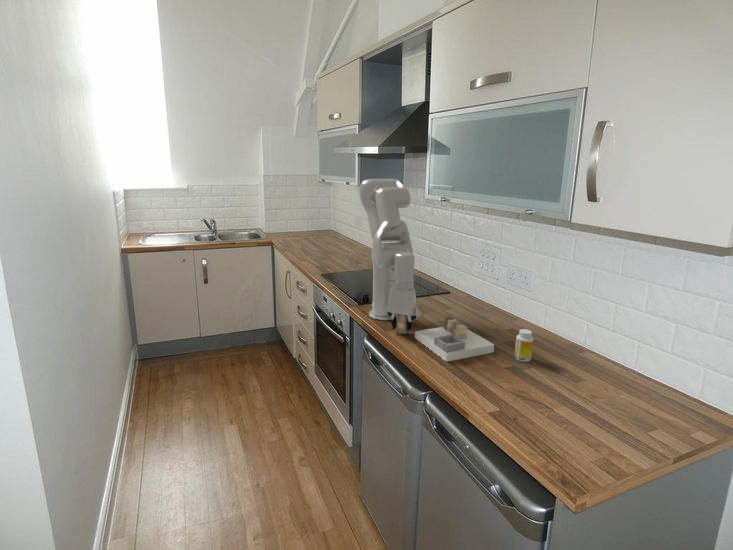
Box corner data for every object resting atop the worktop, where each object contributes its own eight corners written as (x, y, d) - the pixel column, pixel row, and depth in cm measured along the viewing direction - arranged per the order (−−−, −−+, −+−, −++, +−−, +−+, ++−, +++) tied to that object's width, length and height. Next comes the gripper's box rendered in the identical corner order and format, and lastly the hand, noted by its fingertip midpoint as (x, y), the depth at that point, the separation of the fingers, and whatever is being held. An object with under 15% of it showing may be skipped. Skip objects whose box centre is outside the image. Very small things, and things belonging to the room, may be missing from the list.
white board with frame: (414, 338, 169) (415, 325, 168) (458, 331, 177) (459, 318, 176) (446, 361, 151) (447, 346, 149) (493, 352, 159) (494, 338, 157)
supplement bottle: (534, 360, 153) (538, 332, 150) (523, 363, 150) (526, 335, 148) (521, 354, 158) (525, 327, 155) (510, 357, 155) (513, 329, 152)
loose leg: (394, 331, 176) (395, 310, 173) (403, 330, 177) (404, 308, 175) (399, 335, 172) (400, 313, 170) (408, 333, 174) (409, 312, 171)
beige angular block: (443, 327, 172) (443, 317, 171) (450, 326, 174) (451, 316, 173) (459, 338, 162) (460, 328, 161) (467, 337, 163) (467, 327, 162)
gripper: (378, 284, 169) (377, 329, 174) (423, 290, 163) (420, 336, 168) (385, 279, 176) (383, 322, 180) (427, 284, 170) (425, 329, 175)
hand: (401, 328), depth 174 cm, fingers open, 5 cm apart
